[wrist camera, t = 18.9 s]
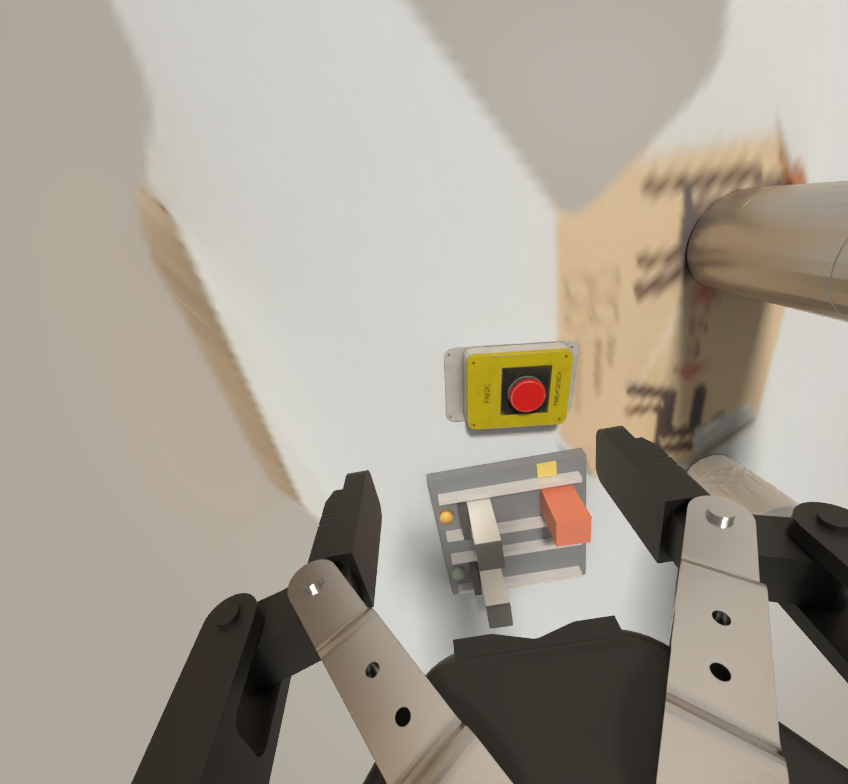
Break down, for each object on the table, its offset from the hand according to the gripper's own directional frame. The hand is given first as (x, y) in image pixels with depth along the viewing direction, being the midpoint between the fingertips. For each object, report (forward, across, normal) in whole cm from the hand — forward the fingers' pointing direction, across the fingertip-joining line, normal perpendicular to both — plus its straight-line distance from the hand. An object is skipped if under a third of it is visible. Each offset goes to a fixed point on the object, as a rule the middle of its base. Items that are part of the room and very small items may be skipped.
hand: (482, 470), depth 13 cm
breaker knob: (+26, -1, +39) cm, 47 cm away
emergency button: (+29, -7, +11) cm, 32 cm away
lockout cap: (+27, -11, +28) cm, 40 cm away
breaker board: (+28, -5, +33) cm, 44 cm away
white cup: (+28, -32, +30) cm, 52 cm away
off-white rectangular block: (+26, -1, +28) cm, 38 cm away
